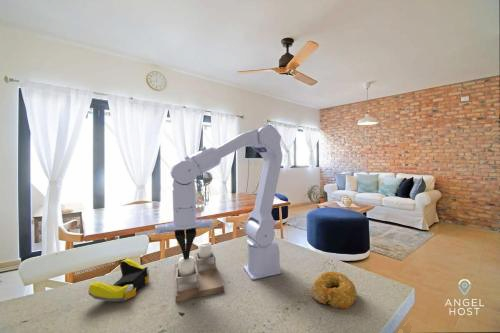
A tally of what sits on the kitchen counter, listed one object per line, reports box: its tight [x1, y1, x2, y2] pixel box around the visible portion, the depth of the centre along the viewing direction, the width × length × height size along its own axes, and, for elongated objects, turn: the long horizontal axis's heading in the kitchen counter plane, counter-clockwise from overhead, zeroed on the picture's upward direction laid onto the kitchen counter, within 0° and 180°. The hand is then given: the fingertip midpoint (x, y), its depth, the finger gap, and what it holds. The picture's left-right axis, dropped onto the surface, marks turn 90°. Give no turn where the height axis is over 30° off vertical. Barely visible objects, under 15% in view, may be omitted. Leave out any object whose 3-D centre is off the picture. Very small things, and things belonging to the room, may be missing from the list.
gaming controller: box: [88, 258, 151, 303], centre depth 59 cm, size 15×6×10 cm
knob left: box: [178, 255, 195, 277], centre depth 58 cm, size 4×4×4 cm
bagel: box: [310, 271, 358, 309], centre depth 55 cm, size 10×11×5 cm
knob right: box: [197, 241, 212, 259], centre depth 68 cm, size 4×4×4 cm
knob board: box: [174, 250, 225, 303], centre depth 63 cm, size 12×17×5 cm
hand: (186, 257), depth 58 cm, fingers closed
